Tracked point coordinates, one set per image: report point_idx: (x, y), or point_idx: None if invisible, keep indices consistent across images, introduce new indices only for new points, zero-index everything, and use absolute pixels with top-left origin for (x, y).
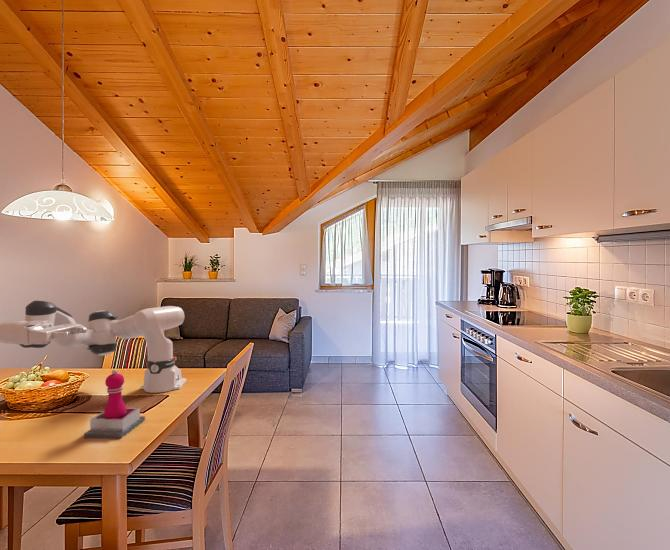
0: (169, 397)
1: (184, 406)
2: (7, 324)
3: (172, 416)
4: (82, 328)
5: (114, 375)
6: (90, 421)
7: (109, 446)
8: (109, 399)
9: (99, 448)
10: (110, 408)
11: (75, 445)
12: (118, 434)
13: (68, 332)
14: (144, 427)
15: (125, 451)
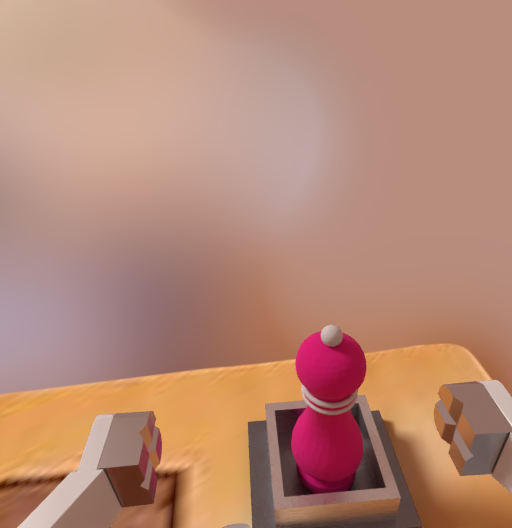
0: (24, 470)
1: (137, 384)
2: None
3: (216, 378)
4: (138, 432)
5: (344, 337)
6: (399, 500)
7: (427, 417)
8: (349, 417)
9: None
10: (357, 425)
11: (472, 518)
12: (381, 418)
13: (461, 385)
14: None
15: (429, 370)
